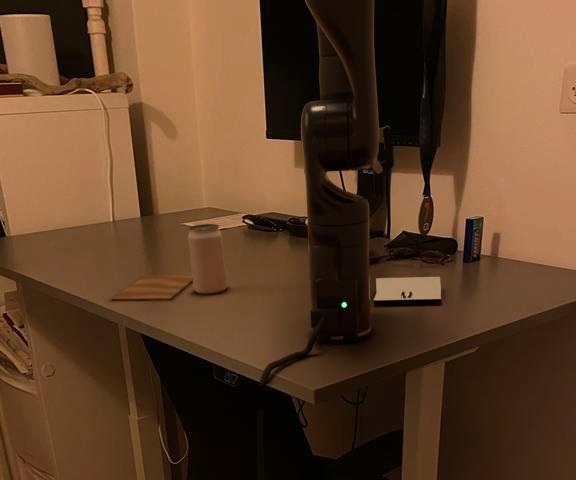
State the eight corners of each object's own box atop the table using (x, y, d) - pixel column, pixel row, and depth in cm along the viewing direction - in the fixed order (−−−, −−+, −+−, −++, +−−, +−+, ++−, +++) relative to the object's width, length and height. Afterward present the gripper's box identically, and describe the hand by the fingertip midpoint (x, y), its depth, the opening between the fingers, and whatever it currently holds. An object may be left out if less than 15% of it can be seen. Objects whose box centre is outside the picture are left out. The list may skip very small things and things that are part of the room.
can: (189, 289, 157) (182, 226, 152) (220, 284, 160) (213, 222, 154) (200, 296, 152) (193, 231, 146) (231, 290, 154) (225, 226, 149)
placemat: (170, 300, 151) (170, 298, 151) (111, 300, 154) (111, 298, 154) (198, 277, 167) (197, 275, 166) (144, 277, 169) (144, 275, 169)
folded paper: (373, 306, 139) (373, 295, 138) (376, 288, 149) (375, 278, 148) (442, 305, 137) (443, 293, 136) (440, 287, 147) (441, 276, 146)
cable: (279, 269, 168) (279, 262, 167) (379, 247, 181) (379, 240, 180) (318, 279, 158) (318, 272, 157) (421, 255, 171) (421, 248, 171)
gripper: (296, 94, 119) (306, 208, 127) (392, 84, 117) (395, 200, 125) (299, 92, 125) (308, 200, 133) (390, 82, 124) (393, 192, 132)
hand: (350, 200), depth 129 cm, fingers open, 8 cm apart
